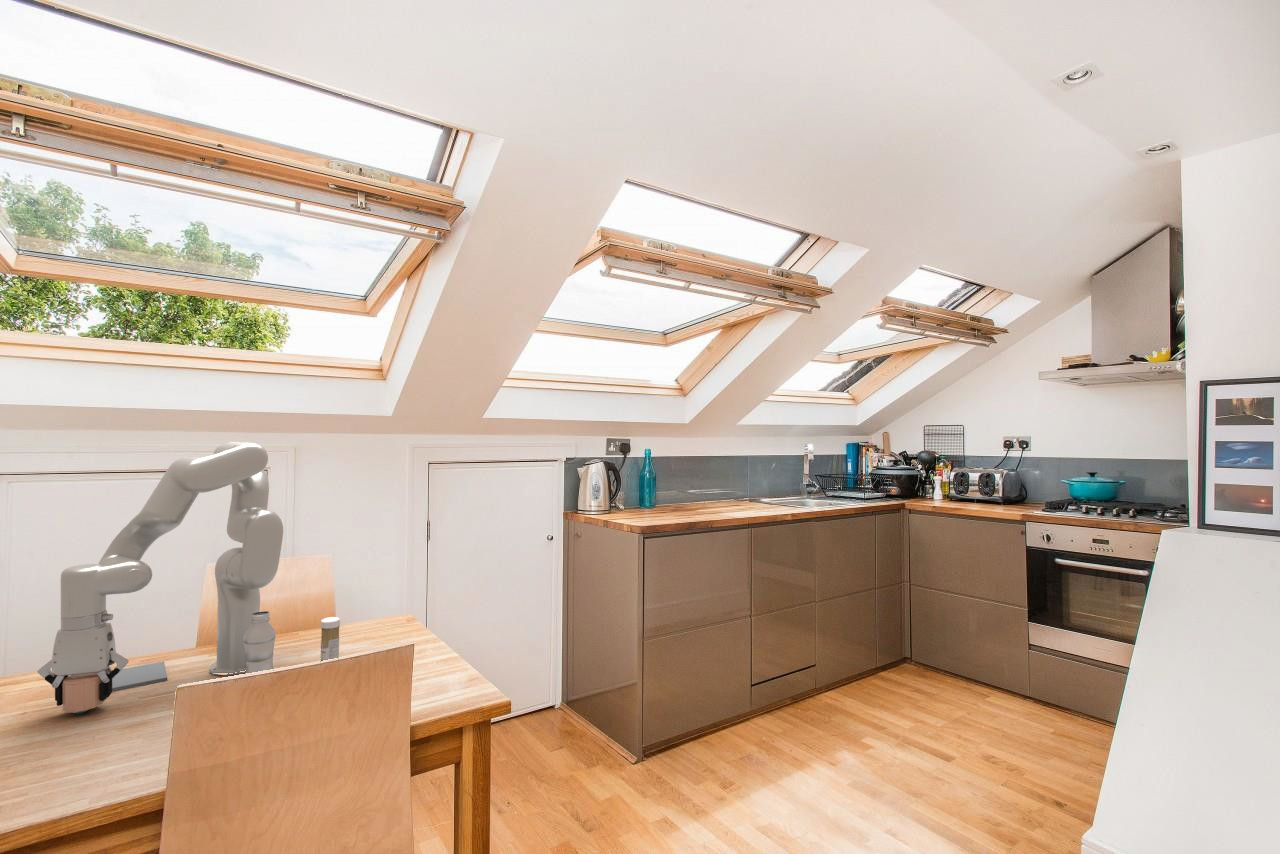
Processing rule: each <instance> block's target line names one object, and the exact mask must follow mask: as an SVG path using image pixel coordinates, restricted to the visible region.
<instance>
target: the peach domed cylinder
mask: <svg viewBox="0 0 1280 854" xmlns="http://www.w3.org/2000/svg"><path fill="white" fill-rule="evenodd" d="M100 683H102V680H101V678H100V677H99V675H98V674H97V673H86V674H77V675H69V676H68V677H66V678H65V679H64V680H63V683H62V688H63V704H62V711H63V712H64V713H74V712H79V711H85V710H86V711H88V710H91V709H94V708H97V707H98V706H101V705H103V704H104V703H105V702H106V699H105V700H104V701H100V700H99V685H100ZM86 711H85V712H86Z"/></svg>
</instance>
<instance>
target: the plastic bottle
mask: <svg viewBox="0 0 1280 854" xmlns="http://www.w3.org/2000/svg"><path fill="white" fill-rule="evenodd" d="M270 614H271V613H270V611H269V610H260V612H255V613H253V614H252V616H251V623H252V625H251V626H250V628H249V629H248V630H247V632H246V633H245V636H244V645H245V652H246V673H252V672H258V671H263V670H270V669H273V670H274V647H275V643H276V636H277V633H276V630H275V628H274V627H273V625H272V624H271V623H270V620H271V617H270ZM246 673H245V674H246Z"/></svg>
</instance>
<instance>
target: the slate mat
mask: <svg viewBox="0 0 1280 854" xmlns="http://www.w3.org/2000/svg"><path fill="white" fill-rule="evenodd" d="M165 680H167V681H168V673H167V669H166V665H165V661H159V662H157V661H156V662H152V663H147V664H146V663H145V664H142V665H137V666H130V667H124V668H123V669H122V670H121V671H120V672H119V673H118V674H117V675H116V676H115V677H114V678H112V692H117V691H122V690H126V688H127V689H131V687H132V688H137V687H141V686H148V685H151V684H156V683H160V682H161V681H162V682H166V681H165ZM136 686H137V687H136ZM121 689H122V690H121Z"/></svg>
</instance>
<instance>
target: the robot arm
mask: <svg viewBox="0 0 1280 854" xmlns="http://www.w3.org/2000/svg"><path fill="white" fill-rule="evenodd" d="M268 463H269V454H268V453H267V450H266V449H265V448H264V447H263V446H262V445H260V444H258V443H255V442H242V441H241V442H240V441H228V442H225V443H224V442H223V443H220V445H218V446H217V447H216V448H215V449H214V451H213V454H210V455H208V456H204V457H193V456H191V457H190V456H189V457H182V458H179V459H176V460H174V461H173V462H172V463H171V464H170V465H169V467H168V469H166V471H165V472H164V474H163V475H162V477H161V479H160V481H159V482H158V483H157V485H156V487H155V488H154V490H153V491H152V493H151V495H150V496H149V497H148V500H147V501H146V503H145V504H144V506H143V507H142V509H141V510H140V511H139V513H138V514H136V515H135V516H134V517H133V518H132V519H131V520H130V521H129V523H127V525H125V526H124V527H123V528H122V529H121V530H120V532H119V533H118V534H117V535H116V536H115V537H114V539H113V540H112V541H111V543H110V544H109V546H108V547H107V549H106V551H105V552H104V553H103V555H102V557H101V558H100V560H99V562H98V564H97V563H87V564H79V565H74V566H69V567H67V568H65V569H63V570H62V571H61V574H60V629H58V630H57V633H56V635H55V638H54V643H53V649H52V657H51V659H50V660H49V661H47V663H46V664H44V665H43V666H41V667H40V668H39V669H38V670H37V672H36V673H37V674H39V675H40V676H41V677H42V678H44V681H46V682H47V683H49V684H50V685H51V687H52V688H53V689H54V701H56V706H57V707H59V706H60V707H61V706H63V688H62V683H63V680H64V679H65V678H66V677H68V676H70V675H77V674H86V673H97V674H98V675H99V677H100V678H101V680H102V683H100V685H99V700H100V701H104V700H105V701H106V700H107V699H108V698H109V697H110V696H111V694H112V693H113V691H112V678H114V677H115V676H116V675H117V674H118V673H119V672H120V671H121V670H122V669H124V668H126V666H127V665H128V663H129V661H130V660H129V659H127V658H126V657H125V656H122V655H121V654H119V653H117V648H116V647H117V646H116V639H115V634H114V631H113V627H112V624H111V622H108V621H113V619H114V613H108V610H107V596H108V595H121V594H123V595H124V594H132V593H135V592H138V591H141V590H142V589H144V588H146V587H147V586H148V585H149V584H150V583H151V581H152V578H153V571H152V568H151V567H150V565H148V563H146V562H144V561H142V558H143V556H144V555H145V554H146V552H147V550H148V549H149V547H151V546H152V544H154V542H155V541H156V540H158V539H159V538H160V537H162V536H164V535H165V534H167V533H169V532H171V531H173V530H175V529H176V528H177V527H179V526H180V525H181V523H182V522H183V521H184V519H185V517H186V516H187V514H188V512H189V510H190V509H191V507H192V506H193V503H194V502H195V501H196V498H198V495H199V494H201V493H202V494H203V493H208V492H209V493H210V492H213V491H216V490H219V489H221V488H225V487H227V486H230V485H231V500H230V505H229V511H228V518H227V524H226V532H227V535H228V537H229V539H231V540H232V541H235V542H239V543H241V544H242V547H233V548H230V549H227V550H226V551H224V552H223V553H222V554H221V555H220V556H219V557H218V558H217V560H216V562H215V566H214V576H215V577H214V578H215V583H216V589H217V619H216V620H217V621H216V622H217V624H216V661H214V662H213V663H212V664H210V665H209V668H208V669H209V671H208V672H209V673H210V672H211V673H228V674H227V675H226V676H234V675H240V674H241V675H242V674H246V671H245V670H246V652H245V645H244V636H245V633H246V632H247V630H248V629H249V628H250V626H251V625H252V623H251V616H252V614H253V613H255V612H260V611H261V591H260V589H262V588H264V587H266V586H268V585H269V584H271V583H272V581H273V580H274V579H275V577H276V575H277V572H278V569H279V564H280V559H281V551H282V547H283V546H282V544H283V540H284V539H283V538H284V525H283V521H282V519H281V517H280V516H279V514H277V513H276V512H274V511H272V510H270V509H268V504H269V496H270V495H269V493H270V483H269V479H268V475H267V473H266V470H265V468H266V467H267V465H268ZM114 664H116V666H115V667H114V669H112V668H111V665H112V666H113V665H114ZM240 671H245V672H240ZM235 672H237V673H235ZM211 673H210V674H211ZM229 673H233V674H229ZM223 676H225V675H223ZM105 701H104V702H105Z"/></svg>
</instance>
